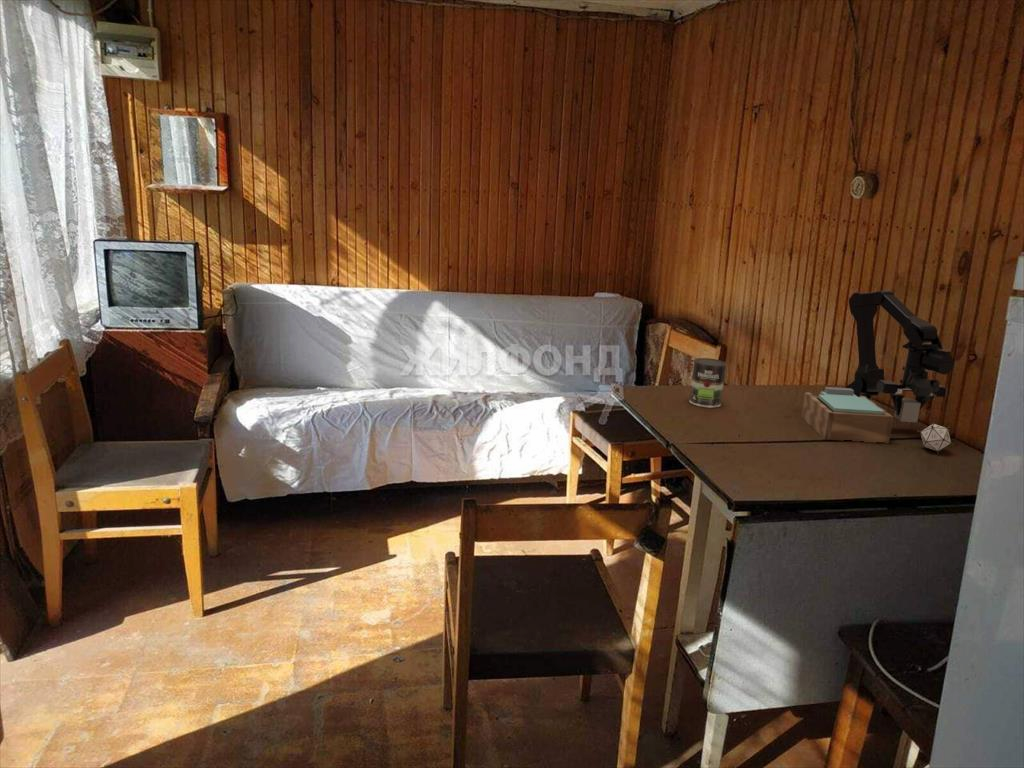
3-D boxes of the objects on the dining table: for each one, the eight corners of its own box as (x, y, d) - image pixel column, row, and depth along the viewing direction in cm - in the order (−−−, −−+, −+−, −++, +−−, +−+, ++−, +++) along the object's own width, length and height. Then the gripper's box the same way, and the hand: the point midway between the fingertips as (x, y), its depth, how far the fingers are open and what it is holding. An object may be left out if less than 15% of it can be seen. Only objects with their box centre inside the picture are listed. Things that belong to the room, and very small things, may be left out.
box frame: (801, 416, 248) (805, 392, 246) (860, 420, 248) (864, 396, 246) (824, 439, 227) (828, 413, 225) (888, 443, 227) (893, 417, 225)
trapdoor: (814, 394, 245) (815, 386, 244) (859, 396, 244) (860, 388, 243) (834, 411, 227) (835, 402, 226) (883, 414, 227) (884, 405, 226)
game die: (924, 460, 226) (919, 427, 229) (957, 456, 221) (952, 423, 225) (918, 452, 219) (913, 418, 223) (953, 448, 214) (947, 413, 218)
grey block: (894, 416, 241) (897, 397, 239) (909, 417, 240) (913, 398, 239) (900, 421, 236) (904, 402, 234) (916, 422, 236) (920, 403, 234)
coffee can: (720, 409, 251) (726, 367, 247) (687, 405, 254) (692, 363, 250) (721, 401, 261) (727, 360, 257) (690, 397, 263) (695, 356, 260)
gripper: (896, 370, 226) (886, 421, 230) (961, 374, 226) (950, 425, 230) (880, 361, 237) (871, 410, 241) (942, 365, 236) (932, 414, 241)
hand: (906, 415), depth 238 cm, fingers closed on grey block, 5 cm apart
